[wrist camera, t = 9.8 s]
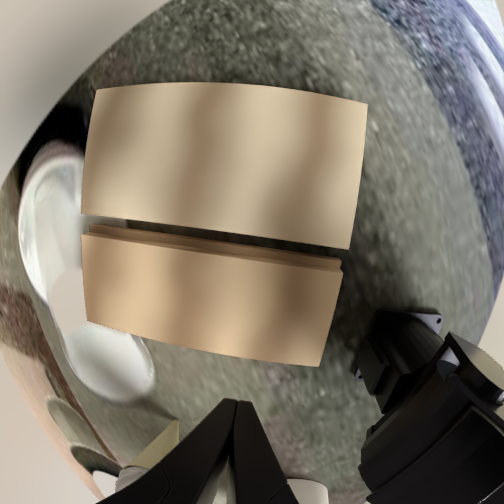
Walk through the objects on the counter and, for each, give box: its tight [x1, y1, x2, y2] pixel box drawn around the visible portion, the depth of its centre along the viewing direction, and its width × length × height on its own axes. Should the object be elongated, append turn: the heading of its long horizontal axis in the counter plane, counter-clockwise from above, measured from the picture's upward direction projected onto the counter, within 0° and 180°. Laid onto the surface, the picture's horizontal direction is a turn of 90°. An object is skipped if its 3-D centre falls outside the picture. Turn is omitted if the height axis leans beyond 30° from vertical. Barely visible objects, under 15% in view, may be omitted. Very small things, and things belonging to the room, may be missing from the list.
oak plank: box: [81, 82, 368, 250], centre depth 17 cm, size 18×9×2 cm, turn 83°
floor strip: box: [81, 224, 343, 367], centre depth 19 cm, size 18×8×2 cm, turn 83°
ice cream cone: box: [115, 419, 179, 492], centre depth 16 cm, size 5×5×15 cm
